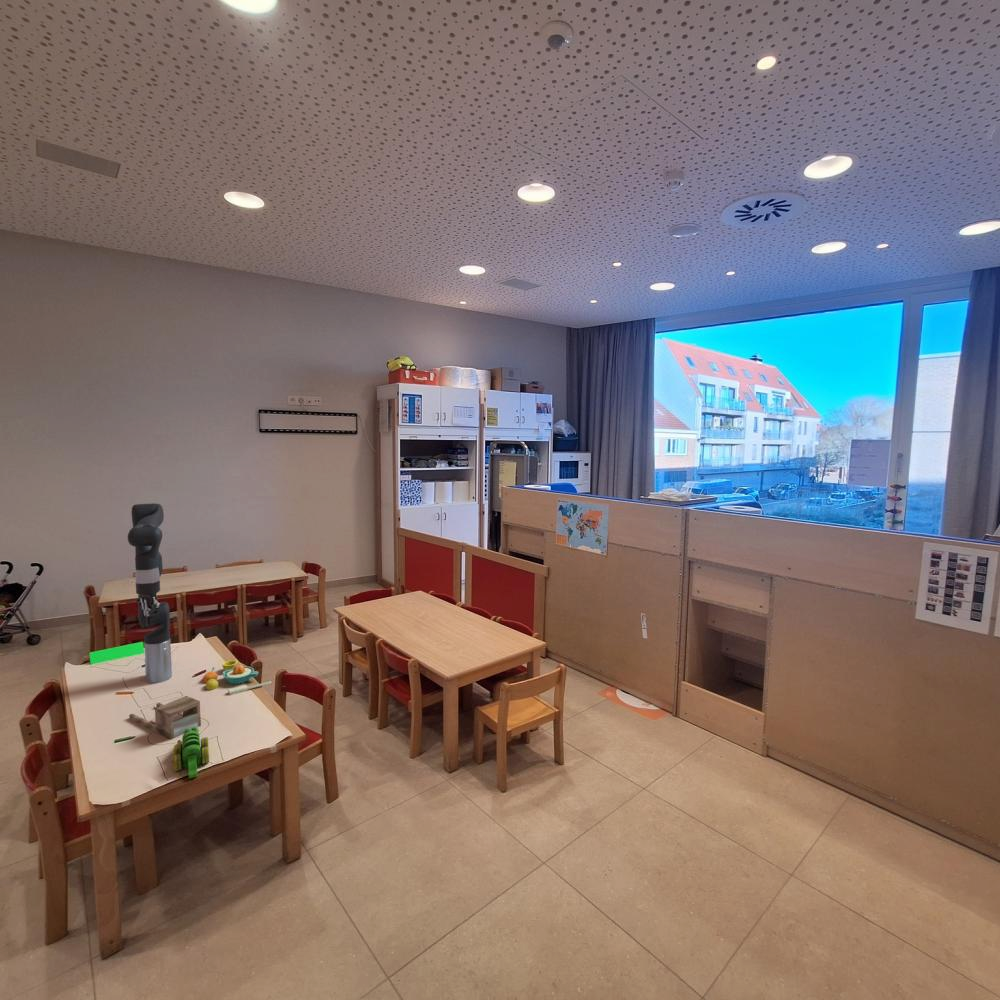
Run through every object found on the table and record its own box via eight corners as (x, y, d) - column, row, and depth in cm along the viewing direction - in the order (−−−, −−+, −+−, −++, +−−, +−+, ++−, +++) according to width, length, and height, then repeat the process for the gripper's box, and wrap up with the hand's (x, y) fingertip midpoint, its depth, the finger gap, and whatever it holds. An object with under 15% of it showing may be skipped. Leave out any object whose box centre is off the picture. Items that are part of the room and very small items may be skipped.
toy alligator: (207, 727, 188) (205, 704, 187) (210, 776, 161) (208, 749, 160) (176, 734, 183) (174, 711, 182) (173, 786, 156) (172, 758, 155)
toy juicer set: (191, 685, 221) (190, 667, 220) (232, 670, 236) (232, 653, 235) (231, 703, 206) (230, 684, 205) (272, 686, 221) (272, 668, 221)
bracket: (142, 659, 253) (140, 644, 254) (144, 657, 246) (143, 641, 247) (89, 671, 239) (88, 655, 241) (91, 668, 232) (89, 652, 234)
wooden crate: (129, 720, 192) (128, 696, 191) (159, 707, 201) (158, 684, 200) (171, 739, 180) (169, 713, 179) (200, 725, 189) (199, 701, 188)
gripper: (126, 579, 195) (129, 625, 197) (147, 584, 189) (149, 631, 191) (148, 575, 202) (150, 619, 203) (168, 580, 195) (170, 625, 197)
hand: (150, 625), depth 197 cm, fingers closed
